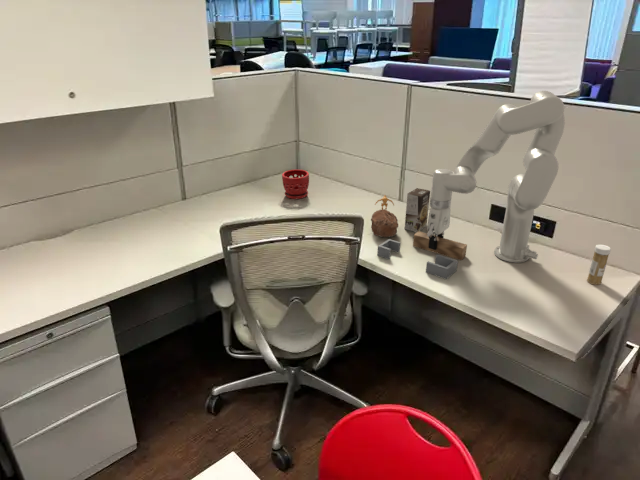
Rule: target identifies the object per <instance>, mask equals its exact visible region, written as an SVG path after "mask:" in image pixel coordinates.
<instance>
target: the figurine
mask: <svg viewBox="0 0 640 480" xmlns="http://www.w3.org/2000/svg"><path fill="white" fill-rule="evenodd" d="M379 202H381V209H384V207H385V210H387V207H388V206H389V205H388V202H391V203H392V206H395V203H394V202H393V200H391V199H389V198H388V197H387V195H386V194H384V195H383V197H382V198H380V199H378V200H377V201H375V204H374V205H375V206H376V205H377V204H378V203H379Z"/></svg>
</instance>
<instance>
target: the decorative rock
mask: <svg viewBox="0 0 640 480" xmlns="http://www.w3.org/2000/svg"><path fill="white" fill-rule="evenodd" d="M370 221H371V227H370V228H371V231H372V233H373V235H374V236H377V237H381V238H390V237H391V238H392V237H395V236H396V235H397V233H398V227H399V223H398V221H399V220H398V218H397V216H396V215H395V214H394V213H392V212H390V211H389V210H387V209H386V210H385V209H384V208H383V209H382V208H381V209H379V210H376V211H374V212H373V214H372V215H371V219H370Z"/></svg>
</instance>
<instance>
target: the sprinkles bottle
mask: <svg viewBox="0 0 640 480" xmlns="http://www.w3.org/2000/svg"><path fill="white" fill-rule="evenodd" d="M611 251H612V248H611V247H610V246H609V245H605V244H602V243H601V244H596V245H595V247H594V253H593V256H592V260H591V264H590V267H589V269H588V270H589V271H588V275H587V276H588V277H587V278H586V281H587V283H589V284H591V285H593V286H596V285H597V286H599V285H601V284H602V281H603V277H604V274H605V270H606V267H607V262H608V258H609V255H610V254H611Z"/></svg>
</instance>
